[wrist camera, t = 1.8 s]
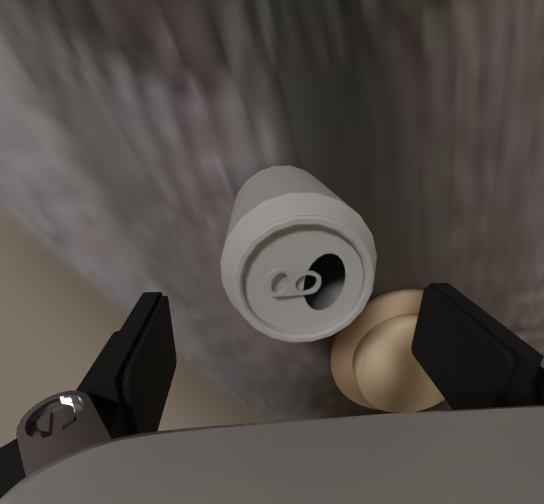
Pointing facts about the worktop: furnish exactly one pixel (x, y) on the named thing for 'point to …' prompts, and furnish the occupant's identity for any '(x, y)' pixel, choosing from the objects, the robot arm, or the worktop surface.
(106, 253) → the worktop surface
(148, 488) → the robot arm
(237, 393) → the worktop surface
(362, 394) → the plinth
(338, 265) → the can
